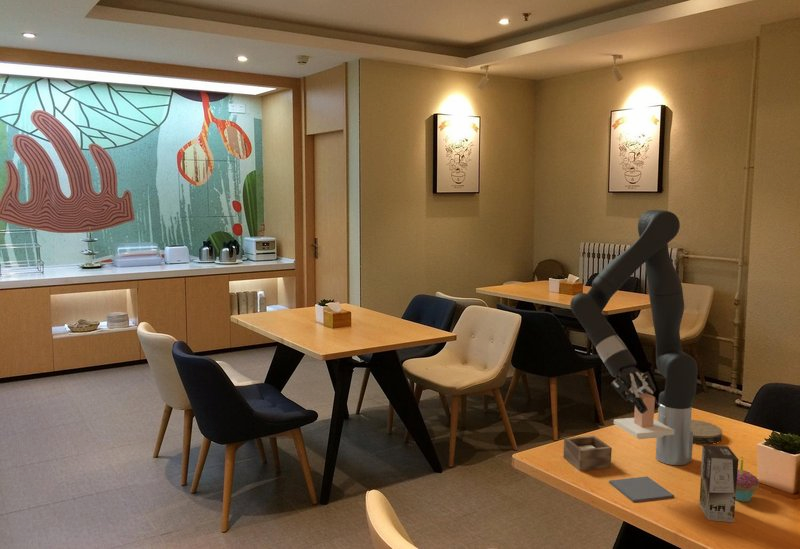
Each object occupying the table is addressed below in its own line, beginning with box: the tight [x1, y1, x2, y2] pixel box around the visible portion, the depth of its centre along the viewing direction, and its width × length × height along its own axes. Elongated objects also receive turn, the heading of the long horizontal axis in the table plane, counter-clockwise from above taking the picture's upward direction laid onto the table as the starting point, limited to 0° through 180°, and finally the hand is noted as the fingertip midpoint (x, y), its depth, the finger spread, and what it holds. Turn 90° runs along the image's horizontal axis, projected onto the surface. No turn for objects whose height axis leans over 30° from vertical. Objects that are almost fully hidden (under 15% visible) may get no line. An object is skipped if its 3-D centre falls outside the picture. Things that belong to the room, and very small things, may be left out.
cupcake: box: [735, 458, 760, 502], centre depth 177 cm, size 9×8×12 cm
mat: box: [608, 475, 675, 503], centre depth 183 cm, size 12×12×1 cm
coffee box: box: [699, 444, 740, 523], centre depth 169 cm, size 9×6×16 cm
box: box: [563, 435, 613, 472], centre depth 200 cm, size 10×10×6 cm
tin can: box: [691, 419, 723, 445], centre depth 223 cm, size 16×16×3 cm
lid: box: [613, 393, 675, 440], centre depth 180 cm, size 11×11×10 cm
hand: (650, 409), depth 178 cm, fingers closed on lid, 4 cm apart
